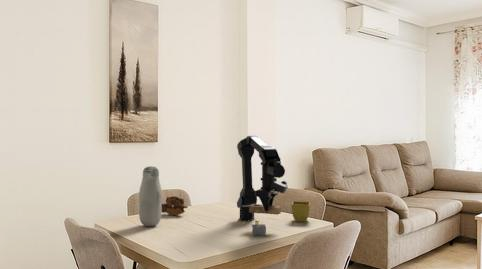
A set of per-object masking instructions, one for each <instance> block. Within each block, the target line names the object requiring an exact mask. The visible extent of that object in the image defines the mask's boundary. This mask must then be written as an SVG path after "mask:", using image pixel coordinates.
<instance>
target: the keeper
mask: <svg viewBox="0 0 482 269" xmlns="http://www.w3.org/2000/svg"><path fill="white" fill-rule="evenodd" d="M251 227H252V237H253V238H254V237H256V238H257V237H259V238H260V237H262V238H263V237H264V238H265V237H267V227H266V224H264V223H263V224H260V223H259V225H255V224H251Z"/></svg>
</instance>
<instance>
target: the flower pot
mask: <svg viewBox="0 0 482 269" xmlns="http://www.w3.org/2000/svg"><path fill="white" fill-rule="evenodd" d="M310 205H311V202H310V201H299V200H298V201H297V200H296V201H292V203H291V211H292V212H291V213H292V217H293V219H294V221H295V222H296V223H297V222H299V223H300V222H302V223H303V222H304V223H305V222H307V220H308V218H309V215H310V207H311V206H310Z"/></svg>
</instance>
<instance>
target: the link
mask: <svg viewBox="0 0 482 269" xmlns="http://www.w3.org/2000/svg"><path fill="white" fill-rule="evenodd" d="M249 213H254V214H267V215H277V216H278V215H281V213H282V206H281V205H272V206H270V205H269V208H268V211H265V209H264V207H263V204H262V203H261V204H258V203H257V204H252V205H250V206H249Z"/></svg>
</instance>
